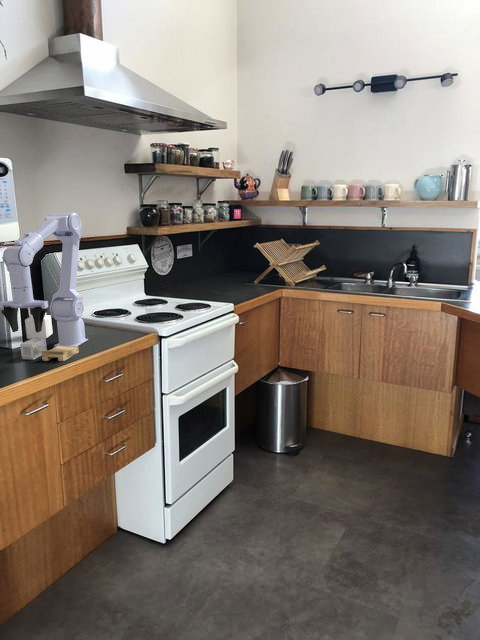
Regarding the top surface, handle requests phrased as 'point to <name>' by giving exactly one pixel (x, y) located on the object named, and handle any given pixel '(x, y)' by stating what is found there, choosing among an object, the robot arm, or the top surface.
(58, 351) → the stand
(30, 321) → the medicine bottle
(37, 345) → the housing
